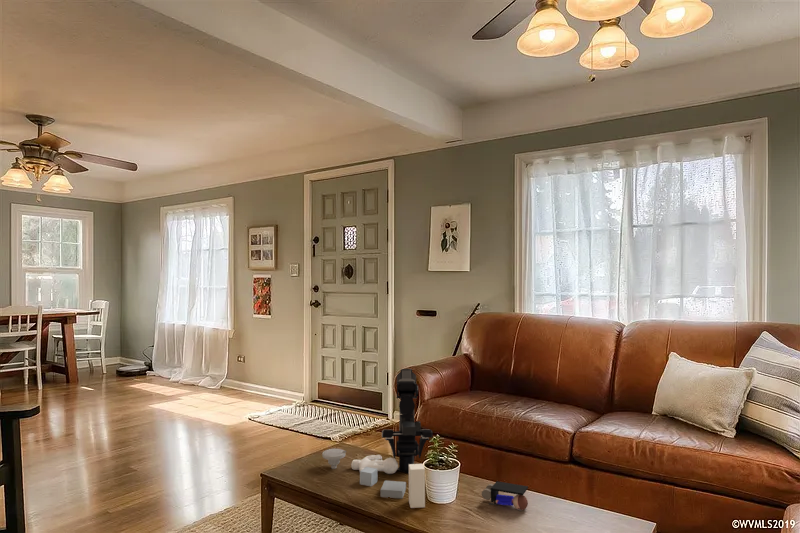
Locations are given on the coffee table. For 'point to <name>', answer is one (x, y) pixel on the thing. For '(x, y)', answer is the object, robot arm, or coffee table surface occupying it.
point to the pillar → (416, 485)
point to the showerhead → (333, 456)
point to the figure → (376, 464)
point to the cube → (368, 476)
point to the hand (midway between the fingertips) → (407, 458)
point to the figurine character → (517, 501)
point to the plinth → (393, 489)
